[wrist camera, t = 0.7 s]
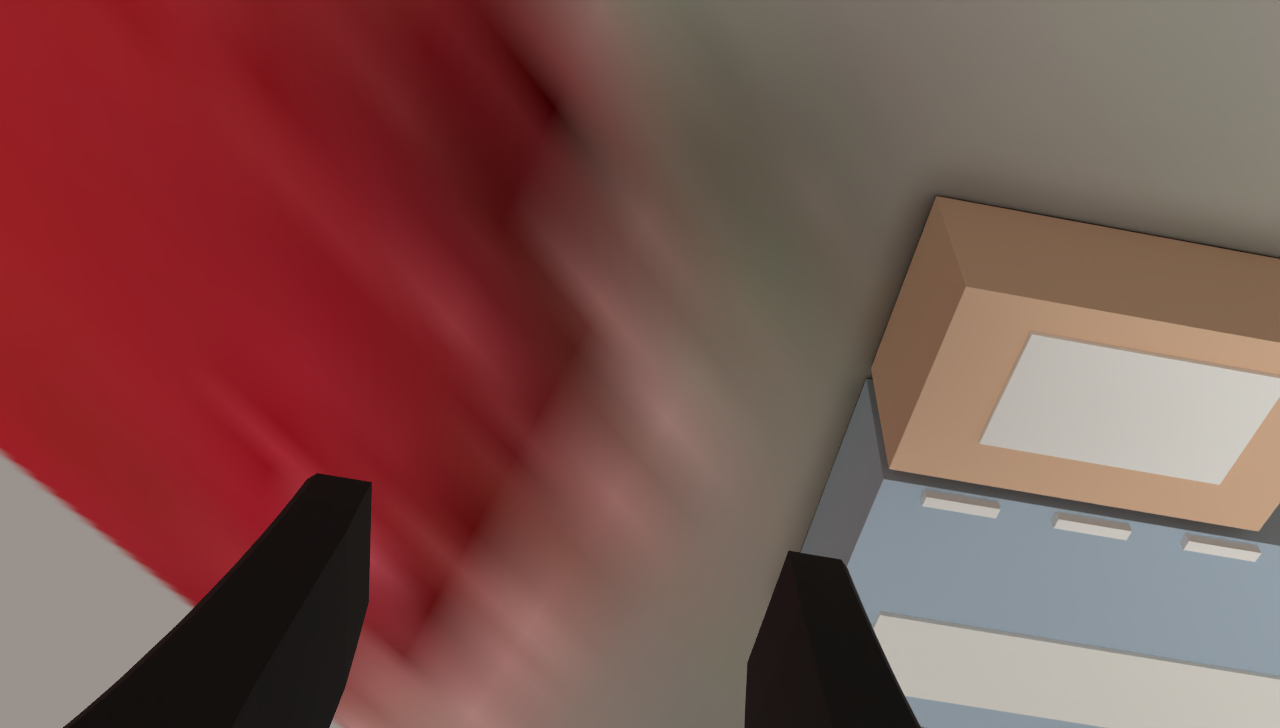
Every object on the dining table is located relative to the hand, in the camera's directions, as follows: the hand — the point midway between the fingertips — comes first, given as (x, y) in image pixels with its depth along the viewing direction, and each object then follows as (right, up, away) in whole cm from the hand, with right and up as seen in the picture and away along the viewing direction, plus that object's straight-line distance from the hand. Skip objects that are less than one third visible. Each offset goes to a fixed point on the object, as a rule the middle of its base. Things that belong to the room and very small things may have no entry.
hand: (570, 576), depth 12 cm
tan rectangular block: (+9, +3, +9) cm, 13 cm away
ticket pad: (+11, -2, +12) cm, 17 cm away
